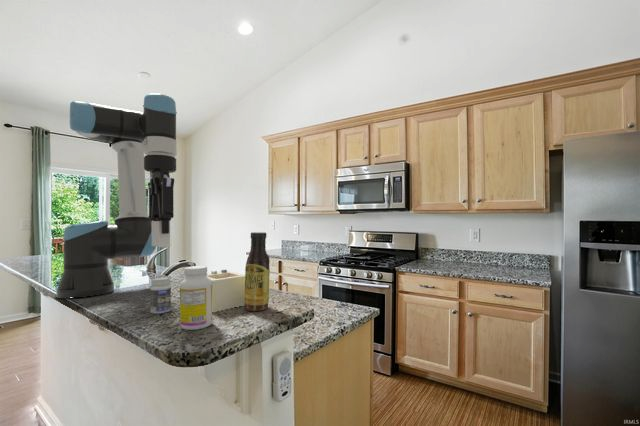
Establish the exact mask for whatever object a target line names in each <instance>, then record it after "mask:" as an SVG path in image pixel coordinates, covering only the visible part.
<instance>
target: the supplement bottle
mask: <svg viewBox="0 0 640 426" xmlns="http://www.w3.org/2000/svg"><path fill="white" fill-rule="evenodd" d="M183 273H184V275H185V278H184V279H182V280H181V281H180V283H179V317H180V318H179V321H180V323H179V325H180V328H181V329H183V330H188V331H194V330H195V331H197V330H202V329H205V328H207V327H209V326H211V325H212V324H213V313H212V281H211V279H210V278H208V277H206V273H208V266H206V265H193V266H187V267H184V272H183Z"/></svg>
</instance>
